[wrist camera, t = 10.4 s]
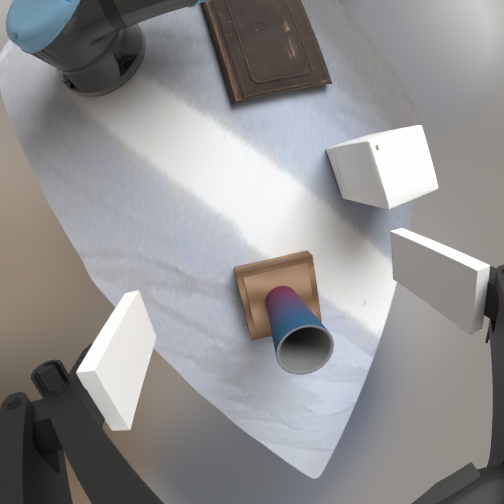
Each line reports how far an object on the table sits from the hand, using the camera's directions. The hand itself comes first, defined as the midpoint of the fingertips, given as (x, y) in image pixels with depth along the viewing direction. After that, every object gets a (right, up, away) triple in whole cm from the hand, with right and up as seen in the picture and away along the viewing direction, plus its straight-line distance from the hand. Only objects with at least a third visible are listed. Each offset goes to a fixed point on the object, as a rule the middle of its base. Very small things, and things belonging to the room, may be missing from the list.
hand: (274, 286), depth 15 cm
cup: (+3, -6, +33) cm, 34 cm away
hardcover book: (0, +37, +26) cm, 45 cm away
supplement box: (+16, +16, +33) cm, 40 cm away
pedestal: (+3, -5, +36) cm, 37 cm away
